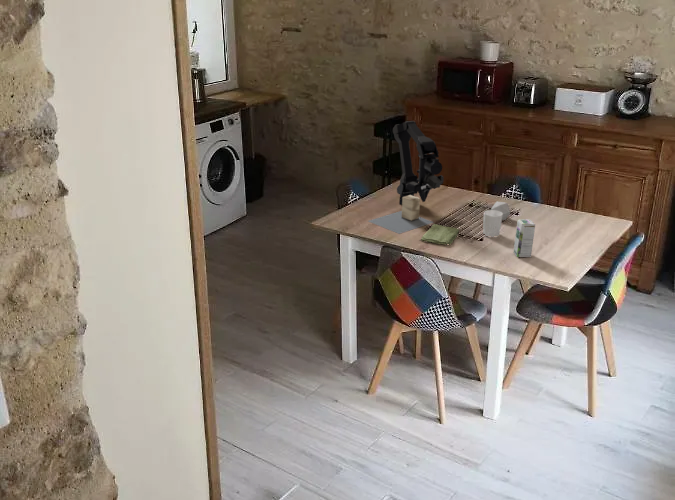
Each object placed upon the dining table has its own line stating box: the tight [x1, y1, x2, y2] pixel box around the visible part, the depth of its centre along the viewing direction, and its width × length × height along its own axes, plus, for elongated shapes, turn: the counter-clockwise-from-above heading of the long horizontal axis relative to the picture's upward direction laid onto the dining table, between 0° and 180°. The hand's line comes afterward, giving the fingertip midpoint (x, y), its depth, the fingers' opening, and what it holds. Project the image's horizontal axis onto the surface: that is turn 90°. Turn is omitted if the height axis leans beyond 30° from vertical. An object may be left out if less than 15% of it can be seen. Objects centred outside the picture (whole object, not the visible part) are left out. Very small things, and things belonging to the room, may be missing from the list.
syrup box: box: [513, 218, 536, 258], centre depth 280 cm, size 6×6×14 cm
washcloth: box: [420, 223, 460, 246], centre depth 300 cm, size 13×18×3 cm
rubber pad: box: [367, 210, 435, 235], centre depth 314 cm, size 22×20×1 cm
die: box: [490, 200, 511, 221], centre depth 320 cm, size 8×9×10 cm
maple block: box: [401, 195, 421, 222], centre depth 316 cm, size 5×6×10 cm
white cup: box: [482, 209, 503, 238], centre depth 301 cm, size 8×8×10 cm
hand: (423, 201), depth 320 cm, fingers closed
